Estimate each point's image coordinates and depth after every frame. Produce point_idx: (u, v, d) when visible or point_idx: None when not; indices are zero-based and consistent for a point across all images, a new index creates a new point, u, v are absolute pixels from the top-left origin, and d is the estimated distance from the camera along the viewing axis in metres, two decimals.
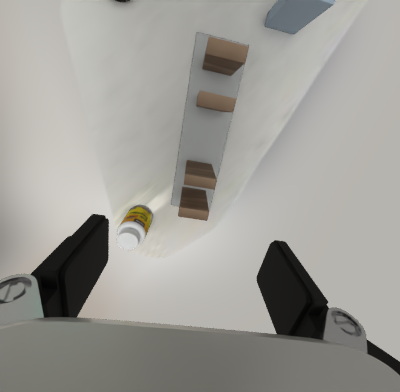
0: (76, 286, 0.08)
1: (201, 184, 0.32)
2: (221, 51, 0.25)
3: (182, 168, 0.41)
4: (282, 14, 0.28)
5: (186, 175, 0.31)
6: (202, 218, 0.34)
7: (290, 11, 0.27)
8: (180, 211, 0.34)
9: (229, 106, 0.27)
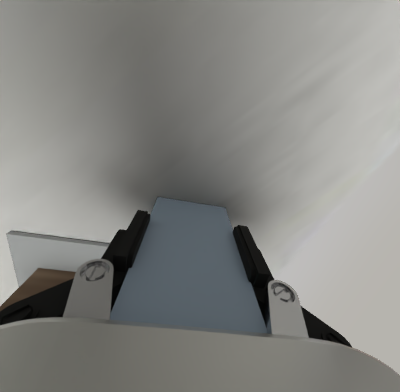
0: None
1: None
2: None
3: None
4: None
5: None
6: None
7: None
8: None
9: None
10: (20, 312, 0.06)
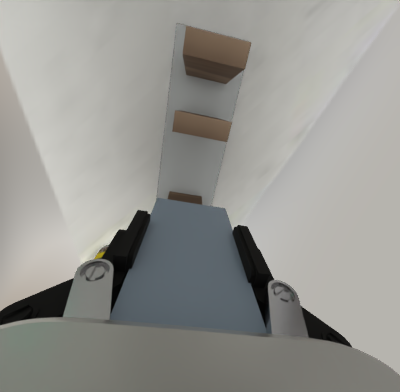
0: None
1: None
2: (207, 50, 0.15)
3: None
4: None
5: None
6: None
7: None
8: None
9: (221, 133, 0.18)
10: (20, 312, 0.06)
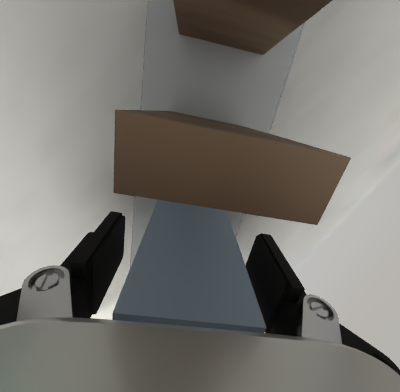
0: (100, 278, 0.08)
1: None
2: None
3: None
4: None
5: None
6: None
7: None
8: None
9: (302, 197, 0.05)
10: None
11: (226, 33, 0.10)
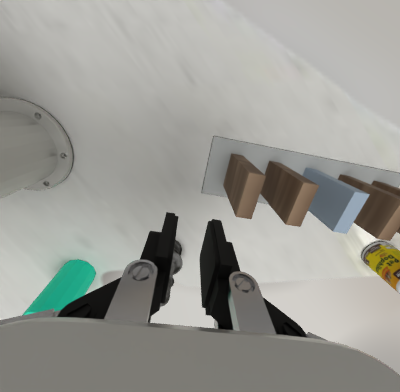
0: None
1: None
2: (251, 203, 0.21)
3: None
4: None
5: (379, 237, 0.24)
6: None
7: None
8: None
9: (310, 190, 0.21)
10: (81, 309, 0.06)
11: None
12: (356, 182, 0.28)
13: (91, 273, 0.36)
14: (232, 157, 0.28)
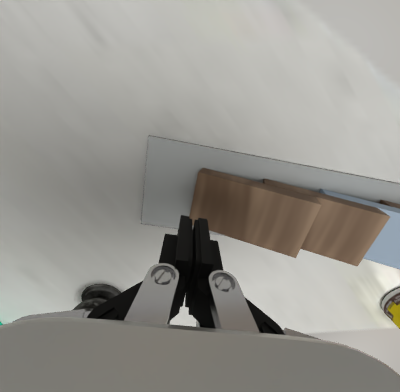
0: None
1: None
2: None
3: None
4: None
5: None
6: None
7: None
8: None
9: None
10: (108, 314, 0.06)
11: None
12: None
13: None
14: (212, 179, 0.16)
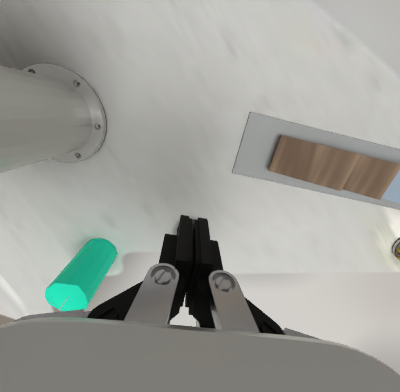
0: None
1: None
2: None
3: None
4: None
5: None
6: None
7: None
8: None
9: None
10: (108, 314, 0.06)
11: None
12: None
13: (113, 253, 0.36)
14: (290, 139, 0.27)
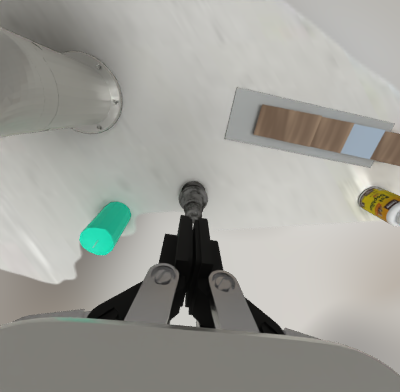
0: None
1: None
2: None
3: (335, 154, 0.40)
4: None
5: None
6: None
7: None
8: None
9: None
10: (108, 314, 0.06)
11: None
12: None
13: (128, 213, 0.43)
14: (269, 107, 0.34)
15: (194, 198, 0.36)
